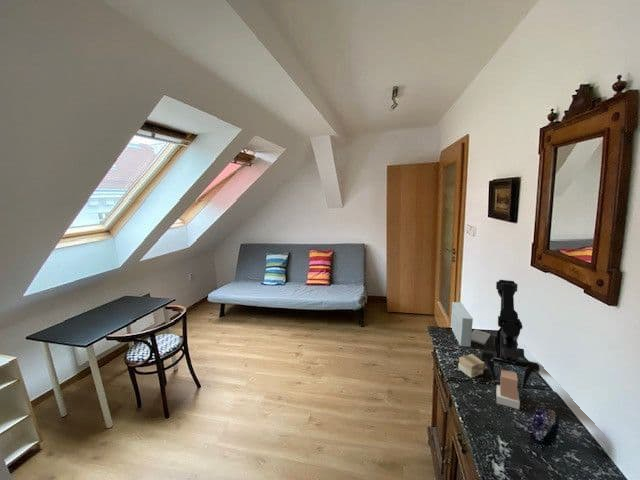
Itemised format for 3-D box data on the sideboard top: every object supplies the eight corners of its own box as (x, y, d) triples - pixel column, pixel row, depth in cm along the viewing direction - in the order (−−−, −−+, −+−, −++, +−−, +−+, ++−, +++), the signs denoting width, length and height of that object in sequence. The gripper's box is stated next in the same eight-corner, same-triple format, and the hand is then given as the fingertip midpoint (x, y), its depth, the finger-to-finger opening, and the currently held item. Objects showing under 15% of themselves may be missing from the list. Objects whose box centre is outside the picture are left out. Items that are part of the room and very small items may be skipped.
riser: (496, 391, 113) (496, 384, 112) (517, 397, 109) (517, 390, 109) (496, 403, 107) (497, 396, 107) (519, 409, 104) (519, 402, 103)
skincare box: (471, 347, 144) (473, 318, 141) (460, 346, 145) (461, 318, 142) (460, 327, 164) (461, 301, 161) (450, 326, 165) (451, 301, 162)
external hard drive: (466, 340, 151) (474, 331, 159) (483, 346, 145) (490, 336, 153) (466, 338, 150) (474, 328, 159) (483, 343, 145) (490, 333, 153)
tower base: (470, 365, 130) (470, 359, 130) (483, 374, 124) (483, 368, 123) (458, 368, 128) (458, 363, 128) (470, 378, 122) (471, 372, 121)
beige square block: (471, 359, 130) (471, 353, 129) (484, 368, 123) (484, 362, 122) (459, 363, 128) (459, 357, 127) (471, 372, 121) (471, 366, 120)
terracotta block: (499, 387, 111) (501, 369, 110) (515, 391, 109) (516, 372, 107) (500, 395, 107) (501, 376, 105) (516, 399, 104) (517, 380, 103)
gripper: (482, 333, 112) (480, 373, 105) (541, 344, 103) (543, 389, 96) (481, 341, 120) (480, 379, 113) (536, 352, 111) (538, 394, 104)
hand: (508, 385), depth 106 cm, fingers open, 9 cm apart
